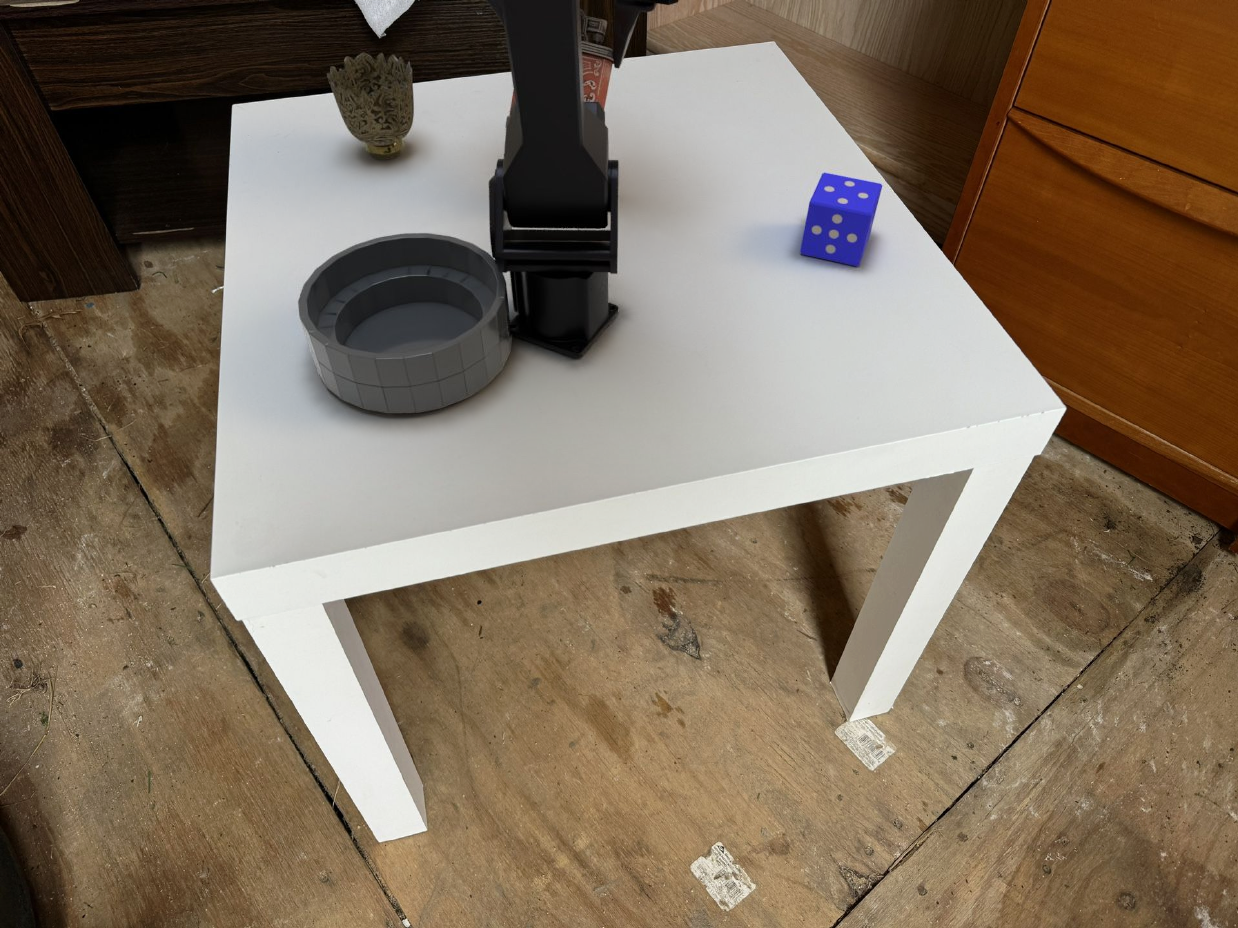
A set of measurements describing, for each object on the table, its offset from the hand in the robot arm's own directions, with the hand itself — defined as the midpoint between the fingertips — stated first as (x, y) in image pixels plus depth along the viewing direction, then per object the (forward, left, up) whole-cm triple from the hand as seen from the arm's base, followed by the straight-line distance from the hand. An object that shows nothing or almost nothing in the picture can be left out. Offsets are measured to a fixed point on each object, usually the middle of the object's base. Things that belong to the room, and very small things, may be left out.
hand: (571, 58), depth 74 cm
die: (-25, -1, -11) cm, 27 cm away
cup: (+18, +5, -11) cm, 22 cm away
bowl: (-2, +27, -11) cm, 29 cm away
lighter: (-1, +5, -5) cm, 7 cm away
